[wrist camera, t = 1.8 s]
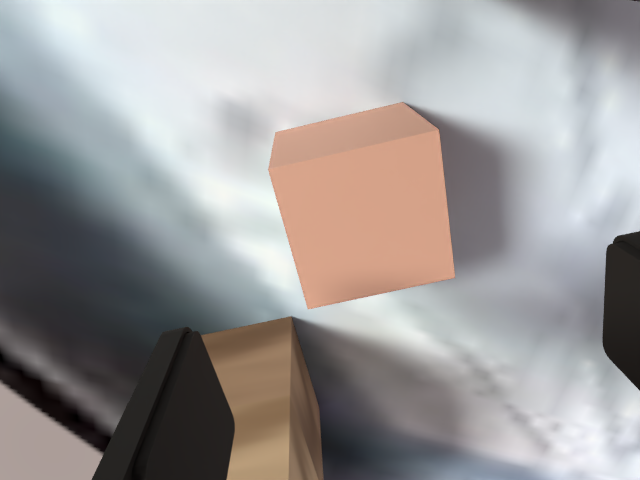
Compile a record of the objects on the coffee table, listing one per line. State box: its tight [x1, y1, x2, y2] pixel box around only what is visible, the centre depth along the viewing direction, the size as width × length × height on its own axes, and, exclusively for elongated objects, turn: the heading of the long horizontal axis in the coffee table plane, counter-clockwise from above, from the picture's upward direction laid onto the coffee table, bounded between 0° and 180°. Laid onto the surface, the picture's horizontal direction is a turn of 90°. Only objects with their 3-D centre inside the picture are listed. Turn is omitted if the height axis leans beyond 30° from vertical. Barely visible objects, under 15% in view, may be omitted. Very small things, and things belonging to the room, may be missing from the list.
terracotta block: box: [268, 102, 455, 309], centre depth 16 cm, size 5×5×5 cm
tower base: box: [201, 316, 323, 480], centre depth 21 cm, size 6×6×5 cm
